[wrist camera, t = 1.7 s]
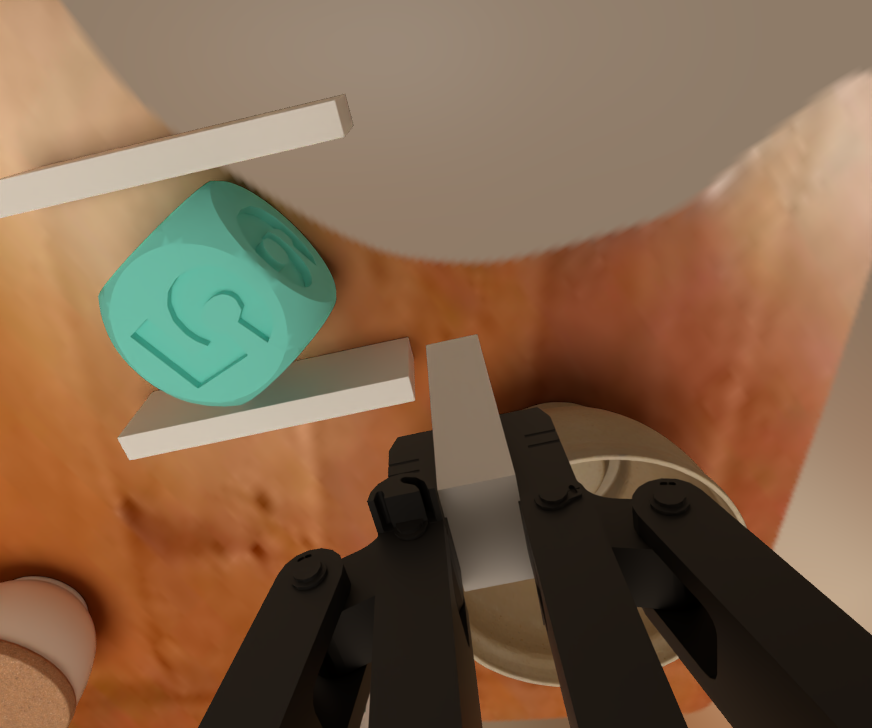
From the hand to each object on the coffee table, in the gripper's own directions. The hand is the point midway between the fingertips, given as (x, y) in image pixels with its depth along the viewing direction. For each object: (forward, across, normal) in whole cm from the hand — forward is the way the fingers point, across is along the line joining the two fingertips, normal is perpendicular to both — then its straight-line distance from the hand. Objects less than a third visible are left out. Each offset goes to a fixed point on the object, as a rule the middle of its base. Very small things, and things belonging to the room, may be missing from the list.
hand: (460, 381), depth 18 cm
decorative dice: (+18, -11, 0) cm, 21 cm away
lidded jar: (+18, -34, -21) cm, 43 cm away
